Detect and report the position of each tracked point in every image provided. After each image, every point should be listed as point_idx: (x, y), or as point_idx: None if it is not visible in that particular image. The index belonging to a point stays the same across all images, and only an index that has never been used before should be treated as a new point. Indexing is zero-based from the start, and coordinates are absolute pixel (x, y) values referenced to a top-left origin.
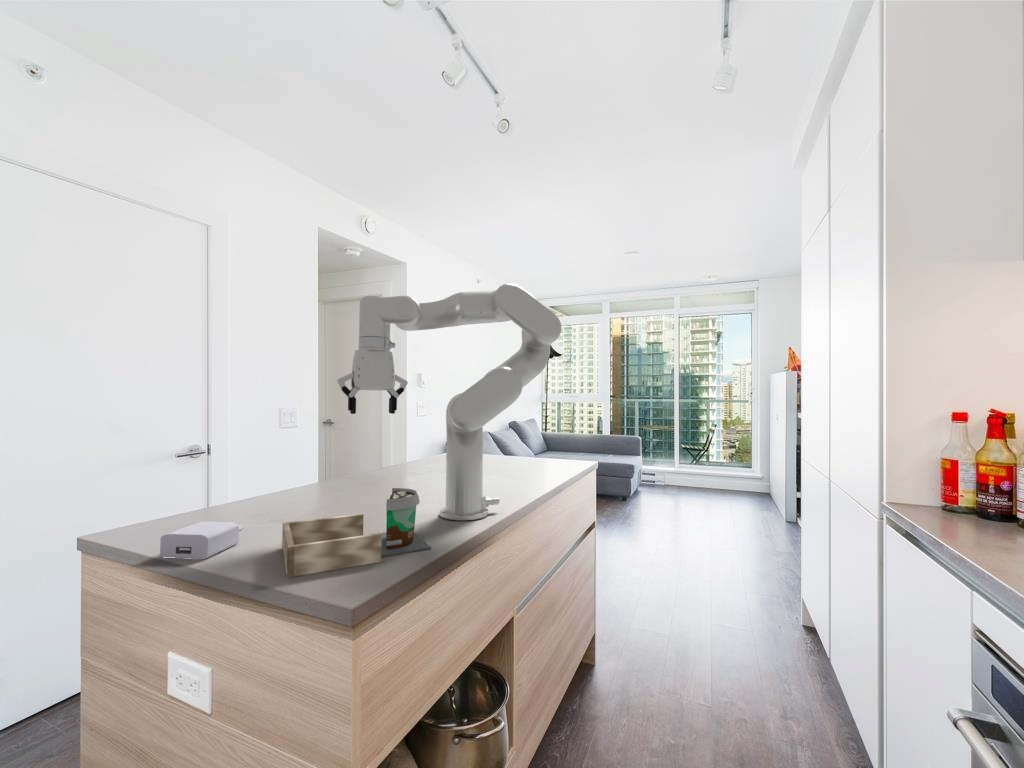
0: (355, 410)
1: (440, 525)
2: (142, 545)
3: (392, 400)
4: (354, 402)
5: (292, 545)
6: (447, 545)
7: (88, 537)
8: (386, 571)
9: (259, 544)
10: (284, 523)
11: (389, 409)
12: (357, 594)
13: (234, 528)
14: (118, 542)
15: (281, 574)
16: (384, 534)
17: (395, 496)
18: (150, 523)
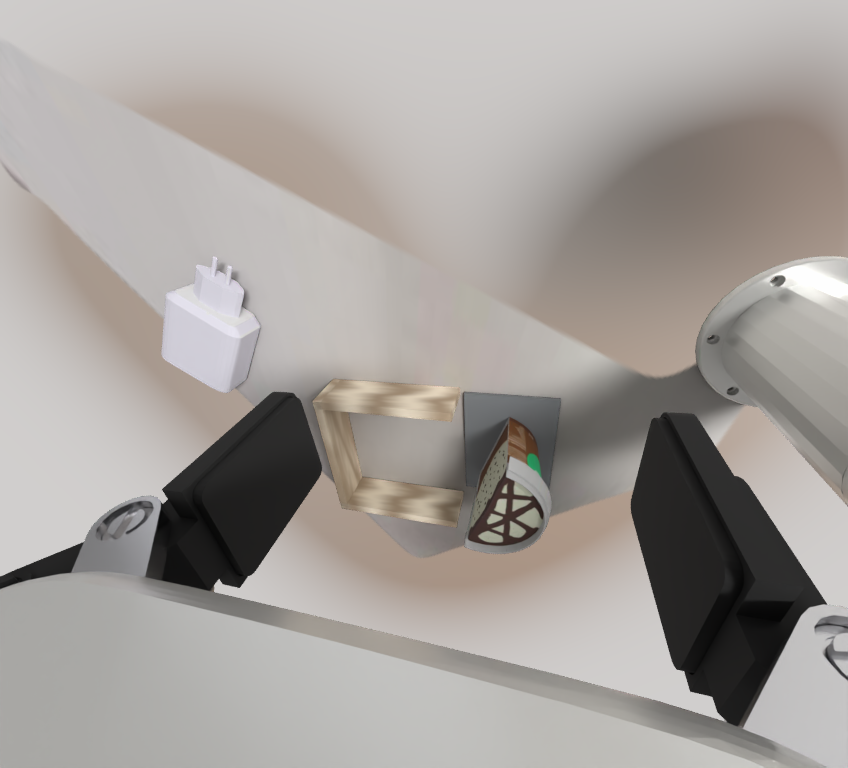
0: (310, 486)
1: (646, 394)
2: (120, 255)
3: (670, 644)
4: (264, 541)
5: (345, 504)
6: (581, 495)
7: None
8: (462, 521)
9: (295, 341)
10: (315, 406)
11: (658, 461)
12: (423, 545)
13: (240, 346)
14: (69, 214)
15: None
16: (499, 406)
17: (495, 516)
18: (3, 40)
